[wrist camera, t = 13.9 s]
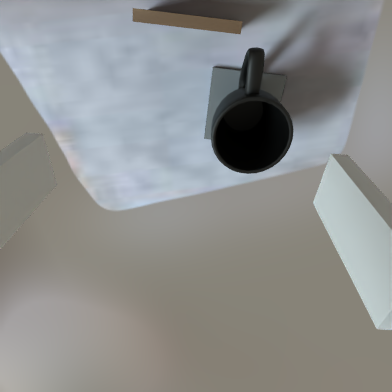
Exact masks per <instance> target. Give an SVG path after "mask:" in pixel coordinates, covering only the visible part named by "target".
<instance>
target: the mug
mask: <svg viewBox="0 0 392 392" xmlns="http://www.w3.org/2000/svg"><path fill="white" fill-rule="evenodd" d="M264 57H265V53H264V49H262V48H250V49H248V51H247V53H246V55H245V59H244V62H243V66H242V69H241V73H240V78H239V86H238V89H237V90H235V91H233V92H231V93H230V94H228V95H227V96H226V97H225V98H224V99H223V100H222V101H221V102H220V104H219V105H218V107H217V108H216V111H215V114H214V116H213V119H212V126H211V142H212V147H213V150H214V153H215V155H216V156H217V158H218V159H219V161H220V162H221V163H222V164H223V165H225V166H226V167H228V168H229V169H231V170H233V171H236V172H239V173H247V174H249V173H258V172H262V171H265V170H267V169H269V168H271V167H273V166H274V165H275V164H277V163H278V162H279V161H280V160H281V159H282V158H283V157H284V156H285V155H286V153H287V151H288V149H289V148H290V145H291V142H292V139H293V124H292V120H291V118H290V115H289V113H288V112H287V111H286V109H285V108H284V107H283V106H282V104H281V103H280V102H279V101H278V99H277V98H275V97H274V96H273V95H271V94H270V93H268V92H266V91H264V90H261V89H260V88H261V82H262V75H263V67H264Z"/></svg>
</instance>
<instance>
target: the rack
mask: <svg viewBox="0 0 392 392" xmlns="http://www.w3.org/2000/svg"><path fill="white" fill-rule="evenodd" d="M133 21H134V22H142V23H151V24H159V25H168V26H176V27H184V28H193V29H201V30H209V31H218V32H226V33H235V34H241V28H242V21H236V20H227V19H219V18H211V17H202V16H194V15H186V14H177V13H169V12H161V11H152V10H144V9H134V8H133Z"/></svg>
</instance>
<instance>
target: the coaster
mask: <svg viewBox="0 0 392 392" xmlns="http://www.w3.org/2000/svg"><path fill="white" fill-rule="evenodd" d="M240 73H241V70H234V69H225V68H217V67H213V71H212V79H211V87H210V95H209V104H208V112H207V120H206V128H205V136H204V139H211V126H212V119H213V116H214V114H215V111H216V108H217V107H218V105H219V104H220V102H221V101H222V100H223V99H224V98H225V97H226V96H227V95H228V94H230V93H231V92H233V91H235V90H237V89H238V86H239V78H240ZM286 79H287V76H285V75H277V74H268V73H263V75H262V82H261V88H260V89H261V90H264V91H266V92H268V93H270V94H271V95H273V96H274V97H275V98H277V99H278V101H279V102H281V98H282V94H283V90H284V86H285V83H286Z"/></svg>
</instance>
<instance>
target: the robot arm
mask: <svg viewBox="0 0 392 392" xmlns="http://www.w3.org/2000/svg"><path fill="white" fill-rule="evenodd" d="M56 186H57V182H56V179H55V175H54V171H53V168H52V164H51V161H50V157H49V154H48V150H47V146H46V143H45V139H44V136H43V134H37V133H25V134H24V135H22V136H21V137H19V138H18V139H16V140H15V141H14V142H12V143H10V144H9V145H8V146H6V147H5V148H3V149H2V150H0V250H1V248H2V247H3V246H4V245H5V244H6V243H7V242H8V240H9V239H10V238H11V237H12V236H13V235H14V234H15V232H16V231H17V230H18V229H19V228H20V227H21V225H22V224H23V223H24V222H25V221H26V220H27V219H28V218H29V216H30V215H31V214H32V213H33V212H34V211H35V210H36V208H37V207H38V206H39V205H40V204H41V203H42V202H43V200H44V199H45V198H46V197H47V196H48V195H49V194H50V192H51V191H52V190H53V189H54V188H55V187H56ZM313 204H314V206H315V208H316V210H317V212H318V214H319V216H320V218H321V220H322V222H323V224H324V226H325V228H326V230H327V232H328V234H329V235H330V237H331V239H332V241H333V243H334V245H335V247H336V249H337V251H338V253H339V255H340V257H341V259H342V261H343V263H344V265H345V267H346V269H347V271H348V273H349V275H350V277H351V279H352V281H353V283H354V285H355V286H356V289H357V291H358V293H359V295H360V297H361V298H362V300H363V302H364V304H365V306H366V308H367V310H368V312H369V314H370V316H371V318H372V320H373V322H374V324H375V326H376V328H377V329H384V330H392V203H391V202H390V201H389V200H388V199H387V197H386V196H385V195H384V194H383V193H382V192H381V191H380V190H379V189H378V188H377V186H376V185H375V184H374V183H373V182H372V181H371V180H370V179H369V178H368V177H367V176H366V174H365V173H364V172H363V171H362V170H361V169H360V168H359V167H358V166H357V164H356V163H355V162H354V161H353V160H352V159H351V158H350V157H349V156H348V155H341V154H331V155H330V158H329V161H328V163H327V166H326V169H325V172H324V175H323V177H322V180H321V182H320V185H319V188H318V191H317V193H316V196H315V199H314V202H313Z"/></svg>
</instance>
